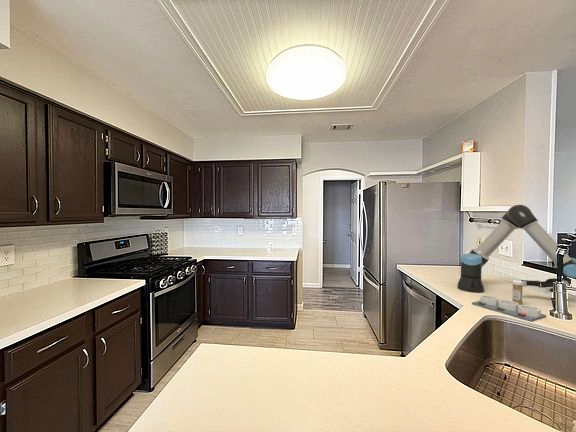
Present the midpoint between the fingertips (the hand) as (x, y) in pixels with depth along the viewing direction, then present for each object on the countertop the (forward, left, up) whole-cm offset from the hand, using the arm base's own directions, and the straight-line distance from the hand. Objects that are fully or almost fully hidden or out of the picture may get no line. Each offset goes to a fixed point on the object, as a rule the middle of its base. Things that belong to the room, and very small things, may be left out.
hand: (530, 287), depth 157 cm
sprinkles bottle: (-2, -10, -10) cm, 14 cm away
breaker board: (0, -26, -9) cm, 27 cm away
